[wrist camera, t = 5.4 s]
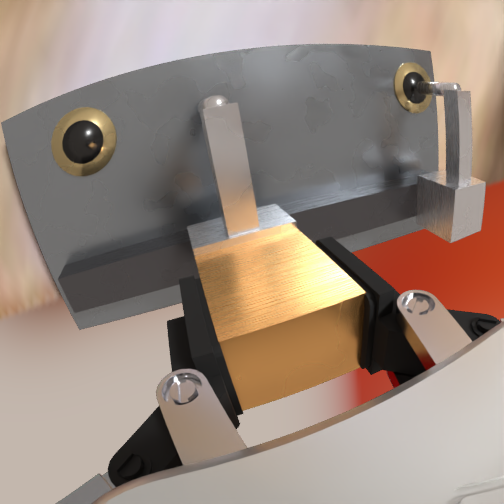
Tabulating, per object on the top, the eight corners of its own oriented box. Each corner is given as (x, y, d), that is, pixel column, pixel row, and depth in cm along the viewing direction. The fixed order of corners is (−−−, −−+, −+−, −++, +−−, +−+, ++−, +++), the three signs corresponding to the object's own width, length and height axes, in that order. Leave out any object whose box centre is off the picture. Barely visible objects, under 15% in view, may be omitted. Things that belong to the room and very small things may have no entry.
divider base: (414, 52, 16) (485, 50, 11) (422, 217, 21) (481, 250, 16) (13, 121, 12) (-49, 131, 7) (83, 314, 17) (66, 386, 12)
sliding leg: (249, 90, 13) (355, 73, 6) (277, 262, 17) (360, 372, 10) (159, 109, 12) (155, 101, 5) (202, 283, 16) (243, 415, 9)
